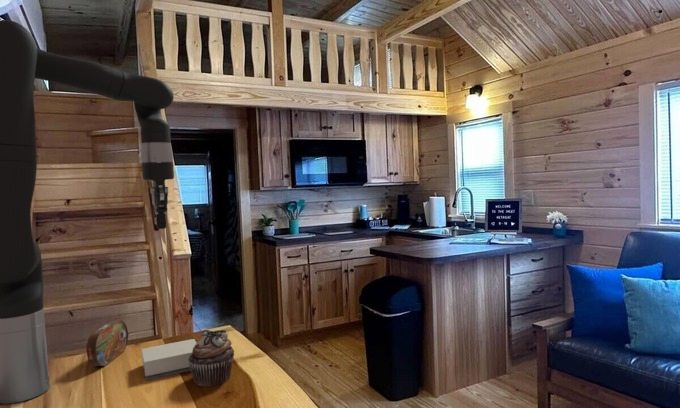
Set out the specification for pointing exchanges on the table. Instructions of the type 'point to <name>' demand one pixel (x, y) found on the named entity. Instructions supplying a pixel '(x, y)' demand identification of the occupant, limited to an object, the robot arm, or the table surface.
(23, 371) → the robot arm
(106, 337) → the tin
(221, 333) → the cupcake
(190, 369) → the mat
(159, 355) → the tile
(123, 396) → the table surface
